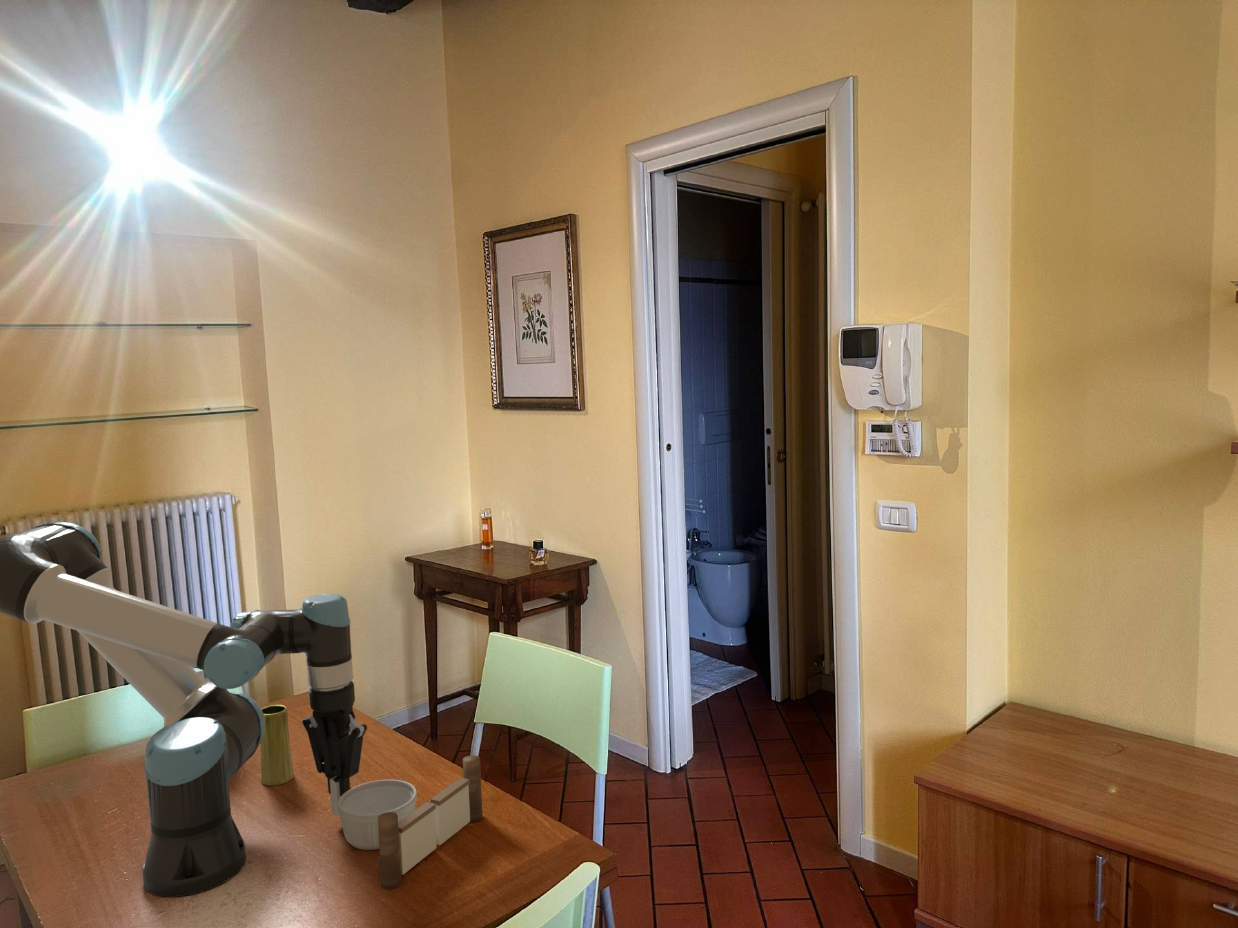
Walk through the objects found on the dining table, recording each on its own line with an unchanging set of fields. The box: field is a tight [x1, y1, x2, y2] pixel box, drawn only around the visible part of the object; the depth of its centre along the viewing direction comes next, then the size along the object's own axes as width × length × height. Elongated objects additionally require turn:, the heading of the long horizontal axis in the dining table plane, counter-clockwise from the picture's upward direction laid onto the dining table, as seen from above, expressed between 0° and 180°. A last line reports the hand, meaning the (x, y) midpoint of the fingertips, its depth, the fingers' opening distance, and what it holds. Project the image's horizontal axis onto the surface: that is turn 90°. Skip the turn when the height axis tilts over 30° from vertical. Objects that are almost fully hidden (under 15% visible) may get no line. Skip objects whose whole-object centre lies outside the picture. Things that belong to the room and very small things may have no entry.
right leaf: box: [430, 777, 471, 846], centre depth 153 cm, size 8×2×8 cm, turn 154°
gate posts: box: [378, 754, 484, 890], centre depth 149 cm, size 25×3×11 cm, turn 154°
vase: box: [259, 704, 295, 787], centre depth 176 cm, size 6×6×14 cm
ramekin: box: [338, 778, 418, 851], centre depth 154 cm, size 13×13×7 cm
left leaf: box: [398, 801, 437, 876], centre depth 145 cm, size 8×2×8 cm, turn 154°
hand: (340, 811), depth 159 cm, fingers closed
